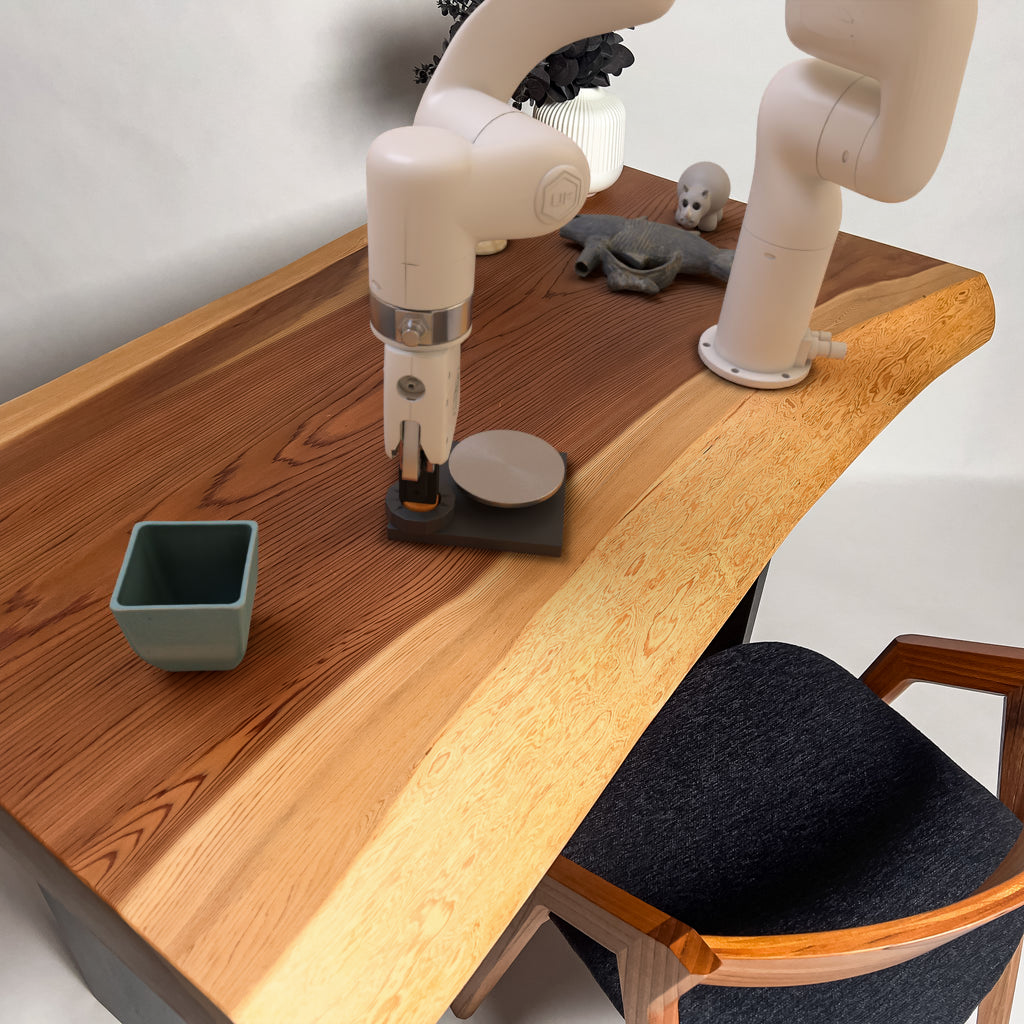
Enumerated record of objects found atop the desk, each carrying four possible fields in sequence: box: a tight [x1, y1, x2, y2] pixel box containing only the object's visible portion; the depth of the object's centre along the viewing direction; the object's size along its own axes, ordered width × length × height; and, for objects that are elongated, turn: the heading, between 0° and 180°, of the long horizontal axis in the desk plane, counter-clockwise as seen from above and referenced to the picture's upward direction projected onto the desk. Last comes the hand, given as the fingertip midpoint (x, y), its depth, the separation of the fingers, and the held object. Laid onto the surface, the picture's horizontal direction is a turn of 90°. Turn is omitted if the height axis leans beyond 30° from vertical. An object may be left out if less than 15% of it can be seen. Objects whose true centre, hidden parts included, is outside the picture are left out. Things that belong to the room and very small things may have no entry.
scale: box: [384, 440, 568, 558], centre depth 86 cm, size 16×13×3 cm
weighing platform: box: [448, 429, 565, 508], centre depth 86 cm, size 10×10×1 cm
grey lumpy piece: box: [558, 213, 736, 296], centre depth 121 cm, size 5×25×15 cm
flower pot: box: [109, 519, 259, 673], centre depth 70 cm, size 9×9×9 cm
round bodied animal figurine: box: [674, 160, 732, 232], centre depth 130 cm, size 7×12×8 cm, turn 155°
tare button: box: [403, 495, 438, 512], centre depth 83 cm, size 3×3×2 cm
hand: (419, 496), depth 82 cm, fingers closed
